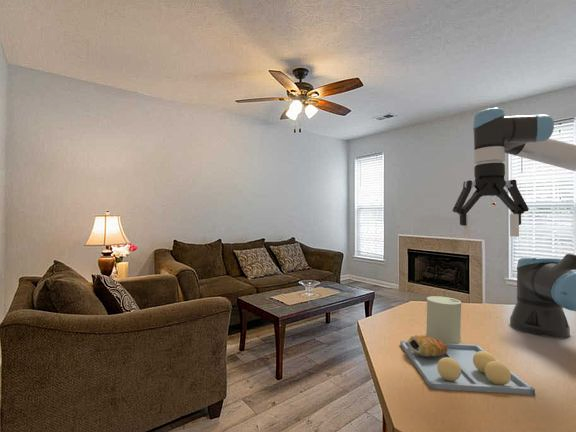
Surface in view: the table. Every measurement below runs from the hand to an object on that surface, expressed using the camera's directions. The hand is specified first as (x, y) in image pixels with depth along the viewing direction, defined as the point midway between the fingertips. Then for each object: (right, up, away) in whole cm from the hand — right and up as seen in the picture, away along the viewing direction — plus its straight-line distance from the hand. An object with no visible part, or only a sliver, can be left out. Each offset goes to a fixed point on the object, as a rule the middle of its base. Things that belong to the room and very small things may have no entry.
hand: (490, 236), depth 92 cm
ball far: (-25, -29, -24) cm, 45 cm away
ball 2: (-15, -29, -26) cm, 42 cm away
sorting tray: (-19, -30, -18) cm, 40 cm away
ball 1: (-15, -29, -21) cm, 39 cm away
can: (-14, -30, 0) cm, 33 cm away
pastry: (-24, -28, -12) cm, 39 cm away
